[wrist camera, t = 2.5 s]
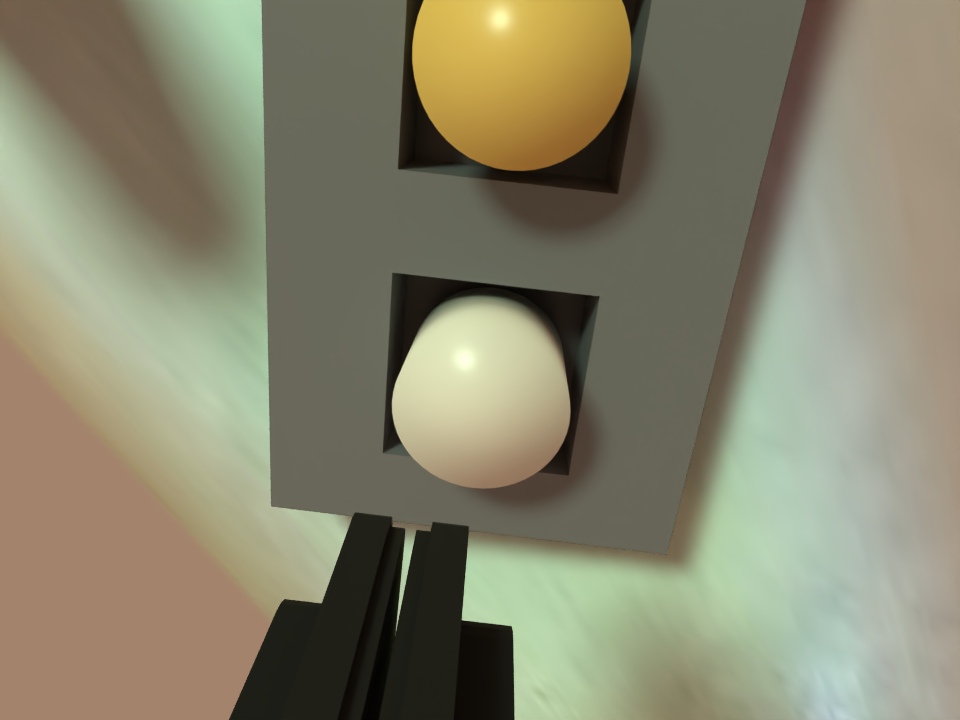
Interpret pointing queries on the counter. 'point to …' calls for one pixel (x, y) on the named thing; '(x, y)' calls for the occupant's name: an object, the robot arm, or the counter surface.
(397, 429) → the ivory button
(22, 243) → the counter surface
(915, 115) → the counter surface
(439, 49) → the amber button
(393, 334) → the panel
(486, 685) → the robot arm
